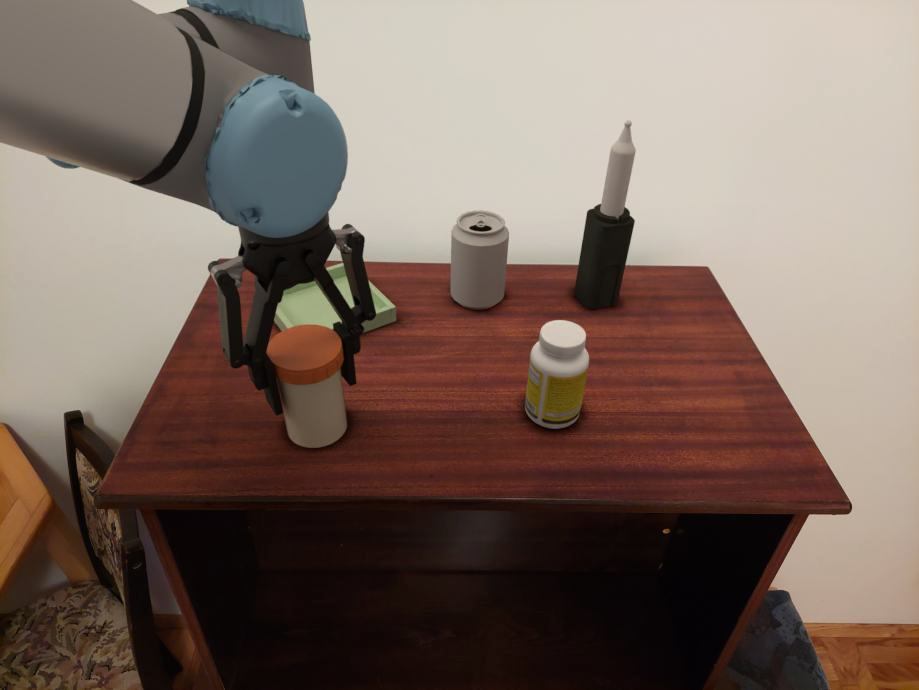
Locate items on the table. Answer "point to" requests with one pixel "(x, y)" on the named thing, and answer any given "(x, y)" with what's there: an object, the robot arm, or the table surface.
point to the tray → (327, 304)
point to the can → (479, 259)
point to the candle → (607, 232)
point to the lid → (306, 354)
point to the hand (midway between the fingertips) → (312, 391)
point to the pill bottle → (557, 375)
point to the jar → (314, 411)
